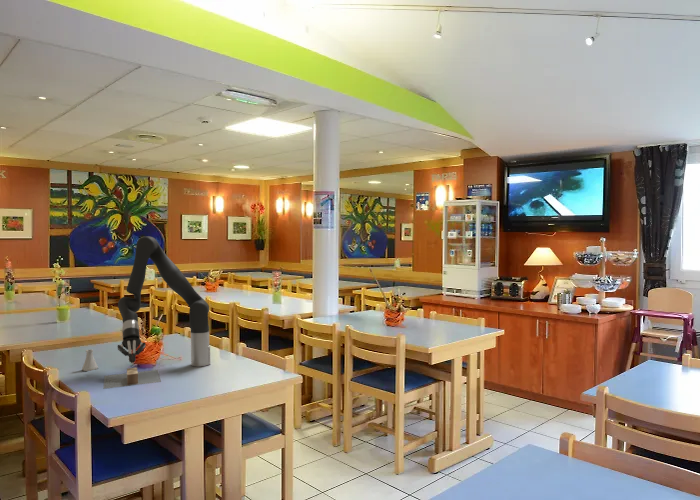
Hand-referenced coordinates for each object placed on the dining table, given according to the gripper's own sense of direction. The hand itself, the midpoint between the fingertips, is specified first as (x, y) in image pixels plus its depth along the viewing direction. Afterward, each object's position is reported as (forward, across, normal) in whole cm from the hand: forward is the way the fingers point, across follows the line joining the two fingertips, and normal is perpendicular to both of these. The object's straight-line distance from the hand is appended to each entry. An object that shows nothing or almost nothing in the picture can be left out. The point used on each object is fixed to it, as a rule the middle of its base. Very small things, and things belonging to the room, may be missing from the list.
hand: (132, 361), depth 240 cm
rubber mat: (+6, 0, +6) cm, 9 cm away
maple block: (+2, 0, +6) cm, 7 cm away
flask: (-14, -19, +26) cm, 36 cm away
